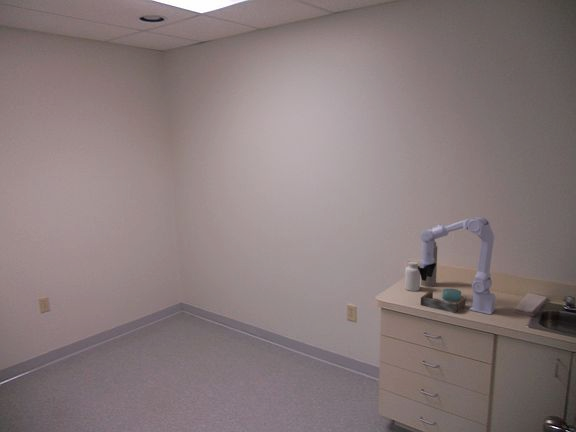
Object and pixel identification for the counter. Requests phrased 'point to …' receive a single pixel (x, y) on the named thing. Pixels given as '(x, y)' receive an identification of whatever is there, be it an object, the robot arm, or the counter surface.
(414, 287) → the pill bottle
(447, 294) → the teal flat rounded lump
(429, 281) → the thermos bottle
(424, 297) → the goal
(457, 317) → the counter surface
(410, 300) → the counter surface
